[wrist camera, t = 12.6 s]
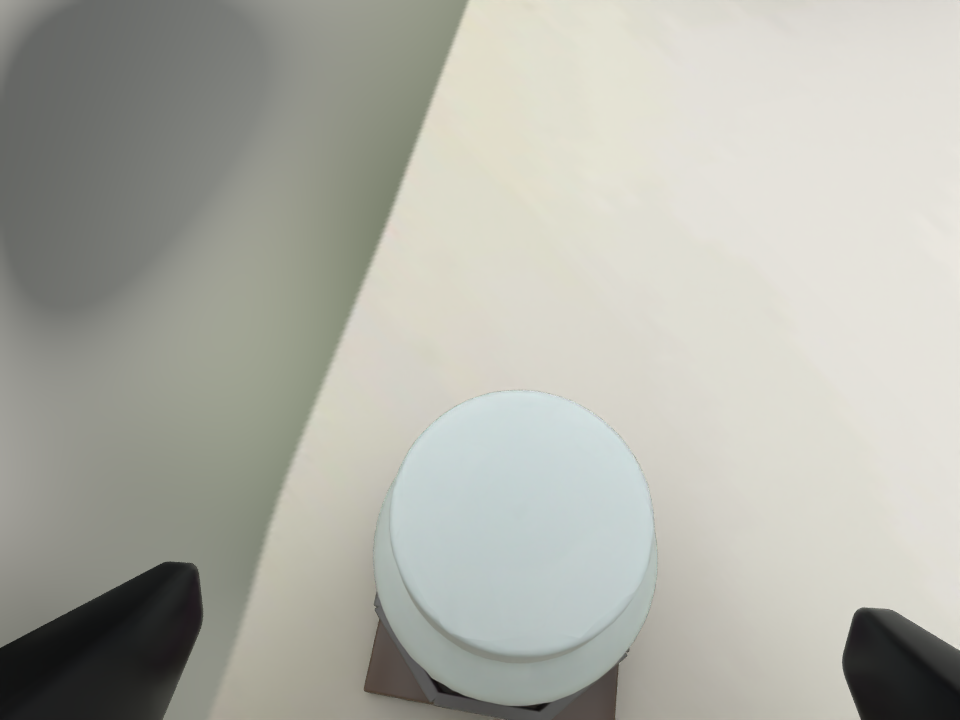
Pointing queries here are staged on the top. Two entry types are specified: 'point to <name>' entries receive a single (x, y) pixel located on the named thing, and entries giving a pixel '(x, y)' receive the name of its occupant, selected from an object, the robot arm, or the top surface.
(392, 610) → the pill bottle
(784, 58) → the top surface
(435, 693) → the octagonal bottle holder
